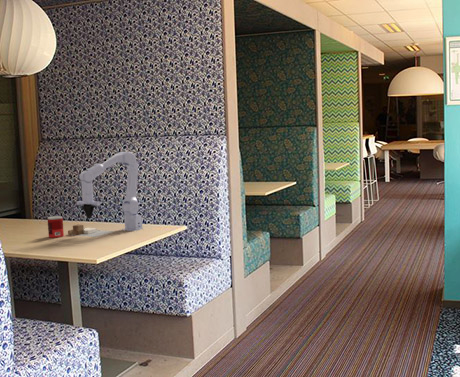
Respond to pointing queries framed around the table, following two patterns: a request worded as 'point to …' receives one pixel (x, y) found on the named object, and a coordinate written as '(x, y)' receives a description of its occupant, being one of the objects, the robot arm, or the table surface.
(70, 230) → the rail
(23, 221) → the table surface
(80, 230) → the block
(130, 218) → the robot arm
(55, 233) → the canned food
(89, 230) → the tile
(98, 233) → the mat
